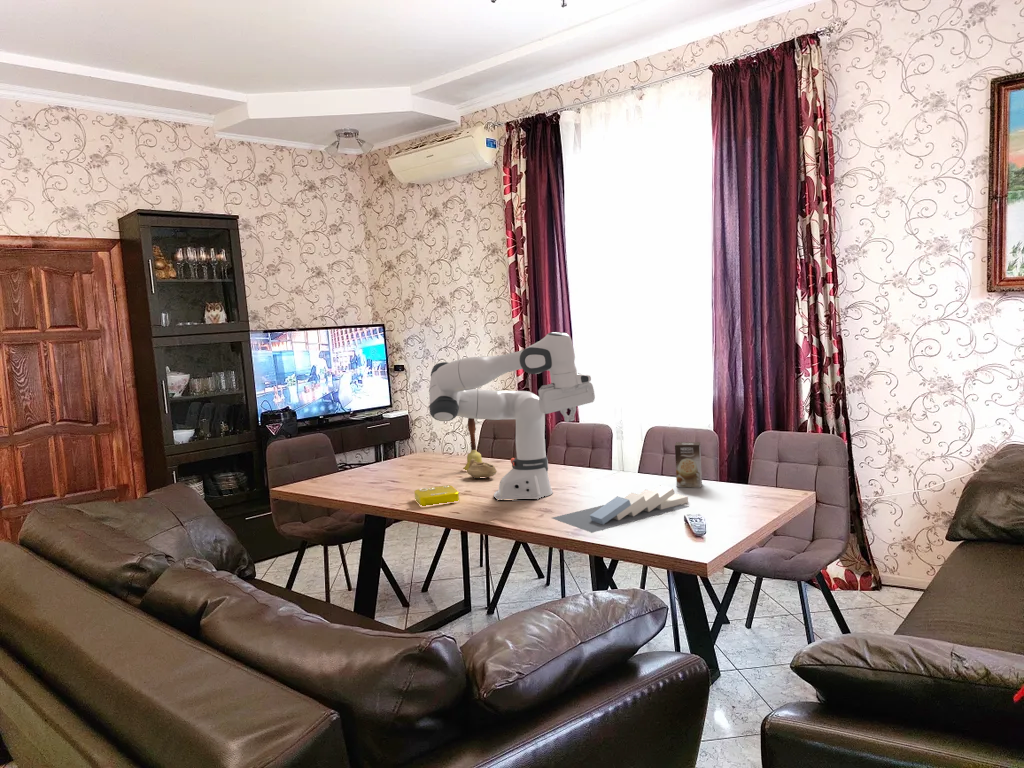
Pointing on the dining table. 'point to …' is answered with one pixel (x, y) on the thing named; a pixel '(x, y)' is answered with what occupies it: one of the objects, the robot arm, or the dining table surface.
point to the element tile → (436, 495)
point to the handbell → (472, 444)
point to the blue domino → (610, 510)
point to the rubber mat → (584, 520)
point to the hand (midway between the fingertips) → (569, 421)
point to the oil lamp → (480, 469)
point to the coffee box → (688, 464)
